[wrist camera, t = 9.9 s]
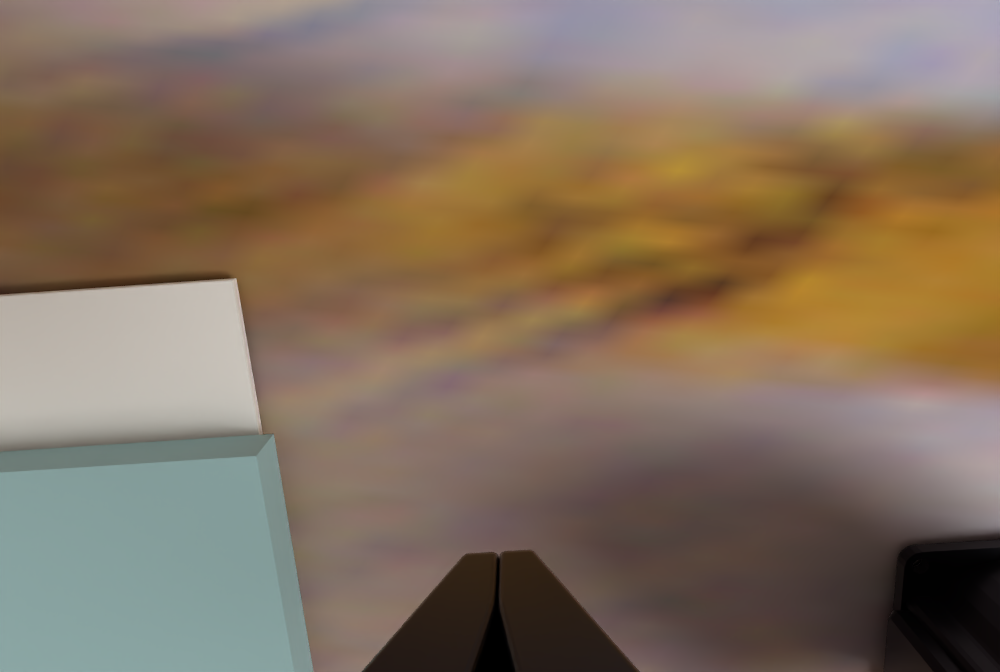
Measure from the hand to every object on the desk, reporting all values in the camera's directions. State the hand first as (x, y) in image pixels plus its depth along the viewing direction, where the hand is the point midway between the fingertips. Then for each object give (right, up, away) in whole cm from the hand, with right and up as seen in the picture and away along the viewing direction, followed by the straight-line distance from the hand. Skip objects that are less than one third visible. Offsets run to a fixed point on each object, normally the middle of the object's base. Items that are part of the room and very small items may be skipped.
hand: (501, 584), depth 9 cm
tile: (-6, -4, +12) cm, 14 cm away
